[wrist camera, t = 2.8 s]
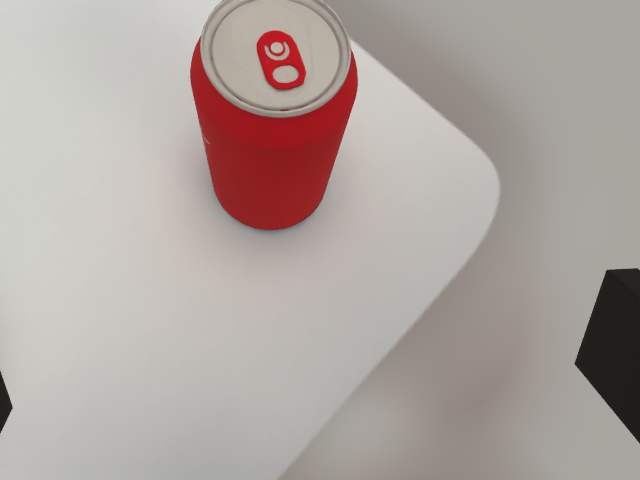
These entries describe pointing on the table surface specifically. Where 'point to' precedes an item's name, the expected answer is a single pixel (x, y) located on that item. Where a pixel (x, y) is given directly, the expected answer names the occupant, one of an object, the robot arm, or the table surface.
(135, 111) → the table surface
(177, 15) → the table surface
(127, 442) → the table surface
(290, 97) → the beverage can
